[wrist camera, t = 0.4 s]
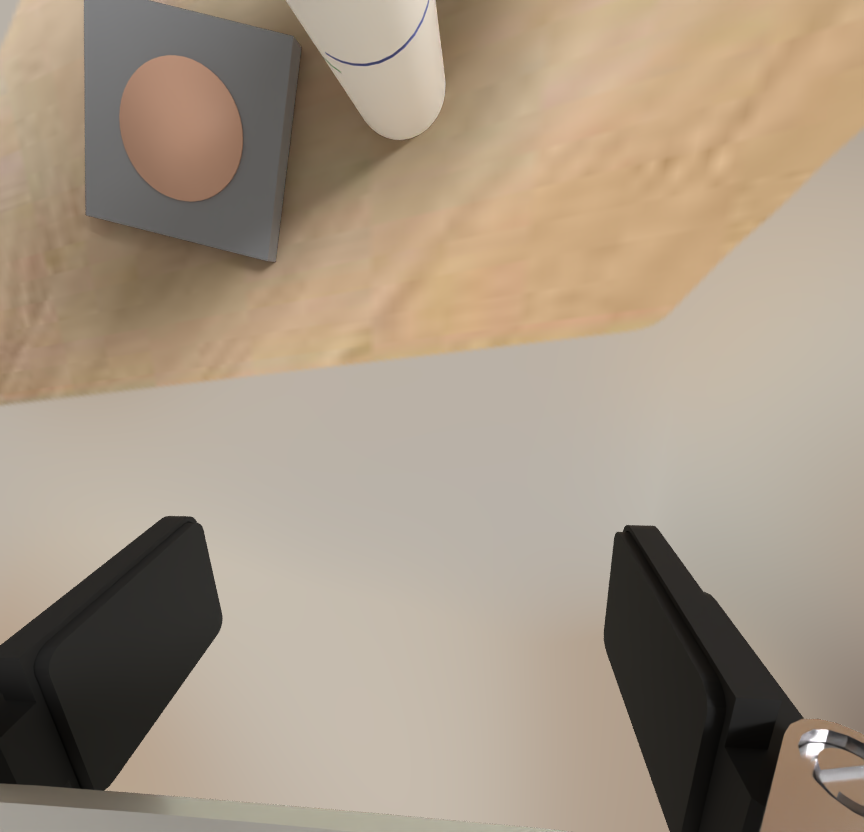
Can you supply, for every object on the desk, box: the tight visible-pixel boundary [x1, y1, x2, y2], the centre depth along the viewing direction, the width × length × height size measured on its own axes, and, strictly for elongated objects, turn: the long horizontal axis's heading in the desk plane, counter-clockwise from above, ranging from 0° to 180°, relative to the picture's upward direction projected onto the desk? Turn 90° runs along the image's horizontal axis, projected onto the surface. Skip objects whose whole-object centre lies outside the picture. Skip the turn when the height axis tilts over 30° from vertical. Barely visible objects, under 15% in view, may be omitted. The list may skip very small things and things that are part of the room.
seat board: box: [84, 0, 302, 262], centre depth 35 cm, size 16×16×2 cm
